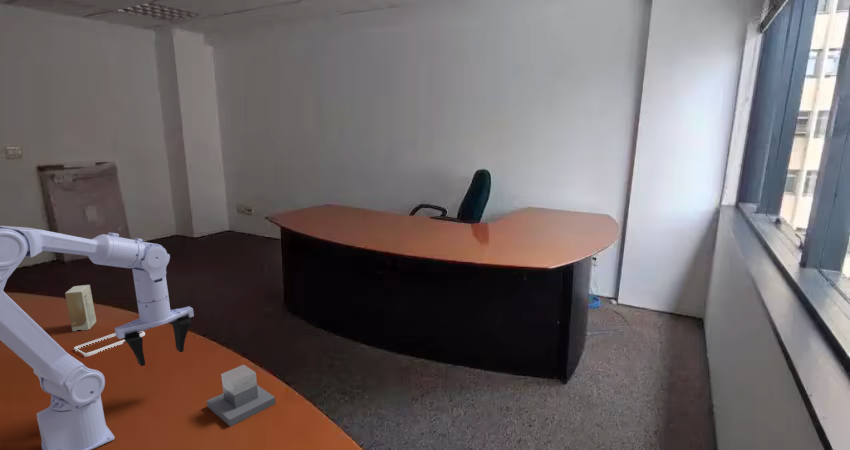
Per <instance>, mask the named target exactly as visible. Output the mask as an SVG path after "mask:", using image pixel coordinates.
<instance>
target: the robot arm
mask: <svg viewBox="0 0 850 450" xmlns="http://www.w3.org/2000/svg"><path fill="white" fill-rule="evenodd" d="M42 252H52V253H61V254H69V255H79V256H86V257H88V259H89V260H90V261H91V262H92V263H93V264H95V265H101V266H108V267H115V268H124V269H132V276H133V283H134V290H135V297H136V304H137V309H138V311H137V312H138V315H139V316H138V317H139V318H136V319H134V320H132V321H129V322H126V323H125V324H122V325H119V326H116V327H114V331H115V332H114V333H116V336H115V337H117V339H118V340H121V339H123V340H125V341H124V342H126V343H127V344H128V346H129V347H130V349H131V350H132V352H133V353H134V355H135V358H136V360H137V364H138V365H140V367H144V366H145V365H146V359H145V355H144V348H143V347H144V346H143V340H144V339H143V338H142V337H140V335H139V334H140V333H138V332H140V331H143V332H144V331H147V330H149V329H152V328H156V327H159V326H162V325H166V324H169V323H171V326H172V328H173V333H174V340H175V341H174V342H175V349H176V350H177V352H179V353H182V352H184V350H185V341H186V338H187V335H188V331H189V330H190V327H191V326H192V320H191V319H190V318H192V317H194V315H195V313H194V309H193V307H191V306H186V307H180V308H175V309H171V305H170V298H169V297H170V296H169V289H168V283H167V282H168V281H167V266H168V264H169V262H170V259H171V255H170V254H169V253H168V251H167V249H166V248H165V247H164V246H163V245H161V244H159V243H155V242H154V243H152V242H147V241H144V240H143V238H138V237H134V239H130V238H125V237H122V236H121V237H120V234H119V233H115V232H111V231H110V232H108V233H107V234H104V233H103V234H99V235H96V236H95V237H94V238H85V237H81V236H74V235H72V234H71V235H70V234H65V233H60V232H54V231H49V230H45V229H39V228H34V227H24V226H13V225H12V226H10V225H9V226H8V225H0V341H1V343H3V344H4V345H5V346H6V347H8V348H9V349H10V350H11V351H12V352H13V353H14V354H15V355H17V357H19V358H20V359H21V360H22V361H23V362H25V363H26V364H27V365H28V366H29V367H30V368H31V369H33V374H34V375H35V376H37V377H38V380H39V385H40V387H41V389H42V391H44V393H47V394H50V405H49V406H48V407H46V408H45V409H43V410H41V411H39V412H36V421H37V424H38V425H37V426H38V428H39V429H38V430H39V435H40V437H41V438H40V440H41V442H40V444H41V450H94V449H96V448H98V447H100V446H102V445H104V444H107V443H109V442H111V441H113V440H115V435H114V434H113V432H112V431H111V429H110V428H109V427H108V425H107V423H106V418H105V413H104V409H103V408H104V406H103V401H102V397H101V396H102V395H101V394H102V393H103V391H104V388H105V385H106V380H105V375H104V374H103V372H101V371H99V370H98V369H93V368H89V367H87V366H86V365H85V364H84V363H83V362H81V361H80V360H78V359H76V358H75V357H74V356H73V355H71V354H69V353H68V352H67V351H66V350H65V349H64V348H63V347H62V346H60V344H59V343H58V342H57V341H56V340H55V339H53V338H52V336H50V335H49V334H48V333H47V332H46V331H45V330H44V329H43V328H42V327H41V325H39V324H38V323H37V322H36V321H35V320H34V319H33V318H32V317H31V316H29V314H28V313H27V312H25V311H24V310H23V309H22V307H20V306H19V305H18V304H17V303H16V301H14V300H13V299H12V298H11V297H10V296H9V295H8V294H7V293H6V292H5V291H4V289H5V287H6V284H7V281H8V279H9V277H11V276H12V274H13V272H14V271H16V269H17V268H18V266H19V265H20V264H21V263H22V262H23V260H24V258H25V257H26V258H30V259H31V258H34V257H35V256H37V255H39V254H41V253H42Z"/></svg>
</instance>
